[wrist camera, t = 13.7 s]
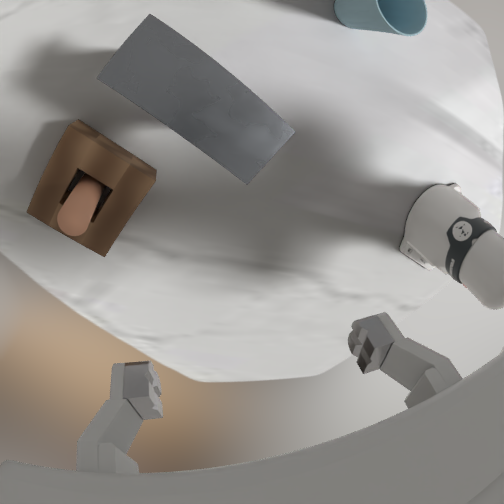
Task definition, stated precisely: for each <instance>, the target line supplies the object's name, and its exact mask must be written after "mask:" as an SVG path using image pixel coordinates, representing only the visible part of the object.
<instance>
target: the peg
mask: <svg viewBox="0 0 504 504" xmlns="http://www.w3.org/2000/svg"><path fill="white" fill-rule="evenodd" d="M104 188H105V184H103V183H101V182H100V181H98V180H97V179H95V178H93V177H92V176H90V175H88V174H87V173H85V174H84V175H83V176H82V177H81V179H80V180H79V182H78V183H77V185H76V186H75V188H74V189H73V191H72V192H71V194H70V195H69V197H68V198H67V200H66V201H65V203H64V205H63V206H62V208H61V209H60V211H59V213H58V216H57V222H58V225H59V227H60V229H61V230H62V231H63V232H64V233H66V234H67V235H70V236H79V235H81V234H83V233H84V232H85V231H86V230H87V228H88V225H89V223H90V220H91V218H92V215H93V213H94V211H95V208H96V206H97V204H98V201H99V199H100V197H101V195H102V192H103V190H104Z"/></svg>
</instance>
